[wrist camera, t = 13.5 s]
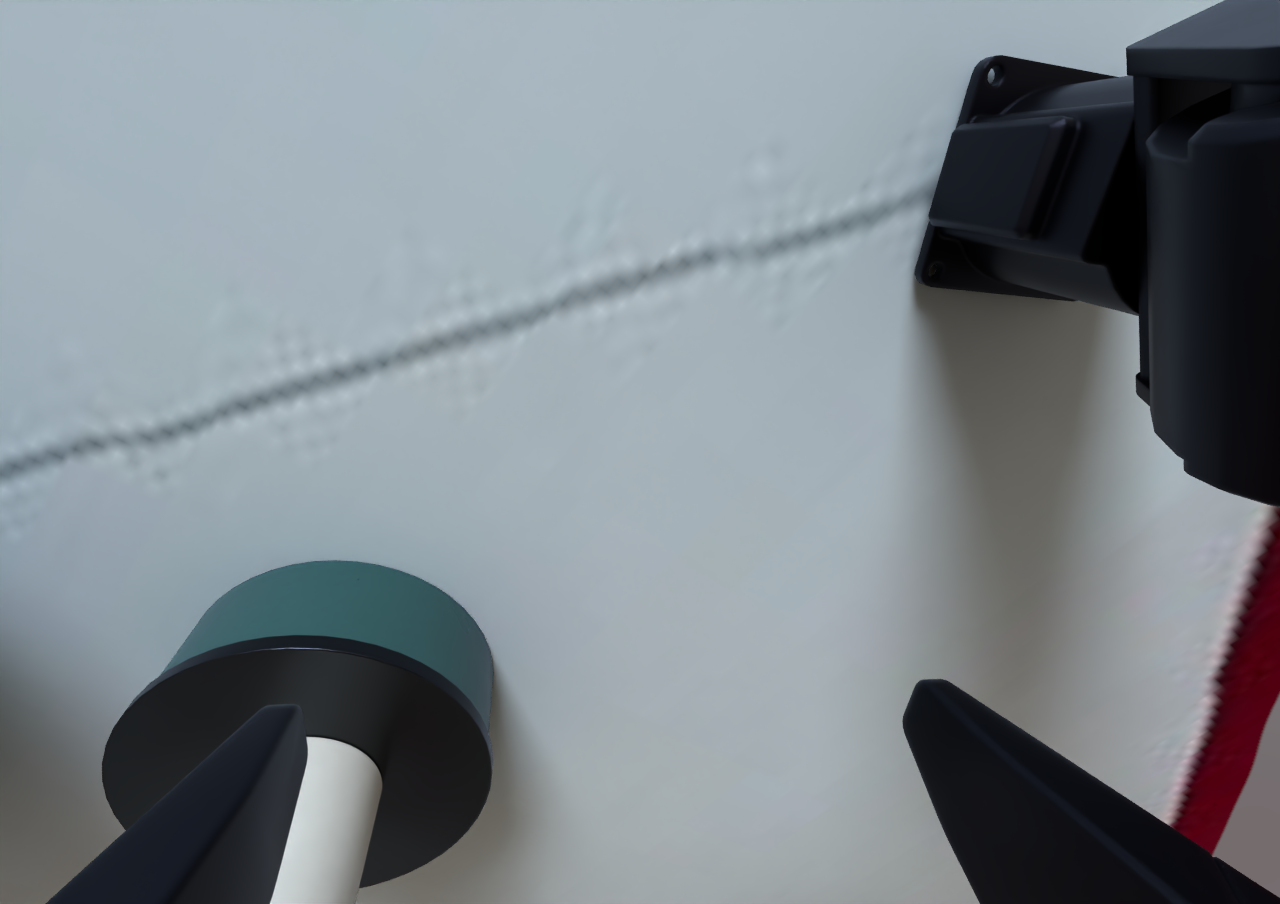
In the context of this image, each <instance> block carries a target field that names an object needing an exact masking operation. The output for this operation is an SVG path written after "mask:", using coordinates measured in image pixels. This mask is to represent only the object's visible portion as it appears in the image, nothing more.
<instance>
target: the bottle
mask: <svg viewBox="0 0 1280 904" xmlns="http://www.w3.org/2000/svg"><path fill="white" fill-rule="evenodd" d="M306 738H307V745H308V758H307V765H306V769H305V773H304V777H303V781H302V785H301V789H300V793H299V797H298V801H297V804H296V808H295V812H294V816H293V820H292V824H291V828H290V832H289V836H288V840H287V844H286V847H285V851H284V855H283V859H282V863H281V867H280V871H279V875H278V878H277V882H276V886H275V889H274V893H273V896H272V899H271V902H270V904H355V902H356V898H357V894H358V890H359V885H360V881H361V877H362V873H363V868H364V864H365V860H366V856H367V851H368V847H369V843H370V839H371V834H372V830H373V826H374V821H375V817H376V813H377V809H378V804H379V800H380V796H381V792H382V779H381V774H380V772H379V769H378V768H377V766H376V765H375V763H374V762H373V761H372V760H371V759H370V758H369V757H368V756H367V755H366V754H365V753H363V752H362V751H360V750H359V749H357V748H355V747H353V746H351V745H348V744H346V743H343V742H340V741H336V740H333V739H327V738H319V737H306Z"/></svg>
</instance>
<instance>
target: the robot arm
mask: <svg viewBox="0 0 1280 904" xmlns="http://www.w3.org/2000/svg"><path fill="white" fill-rule="evenodd" d="M1126 58H1127V75H1128V76H1125V77H1114V76H1109V75H1104V74H1098V73H1093V72H1088V71H1083V70H1077V69H1072V68H1067V67H1061V66H1056V65H1051V64H1045V63H1040V62H1035V61H1029V60H1024V59H1019V58H1014V57H1008V56H1003V55H1000V56H993V57H988V58H985V59H984V60H982V61H980V62H979V63H978V64H977V66H976V67H975V69H974V71H973V73H972V75H971V79H970V82H969V86H968V89H967V93H966V96H965V99H964V103H963V106H962V110H961V113H960V117H959V120H958V123H957V127H956V130H955V131H954V132H953V133H952V136H951V139H950V143H949V146H948V150H947V153H946V157H945V160H944V163H943V167H942V170H941V174H940V177H939V181H938V184H937V188H936V191H935V194H934V198H933V201H932V205H931V208H930V212H929V223H928V227H927V230H926V233H925V237H924V240H923V244H922V247H921V251H920V254H919V257H918V261H917V264H916V268H915V277H916V280H917V281H918V282H919V283H921V284H924V285H927V286H930V287H937V288H946V289H956V290H966V291H976V292H986V293H996V294H1006V295H1016V296H1026V297H1035V298H1045V299H1055V300H1065V301H1082V302H1086V303H1090V304H1094V305H1098V306H1102V307H1106V308H1110V309H1114V310H1118V311H1121V312H1125V313H1129V314H1133V315H1137V316H1139V337H1140V372H1139V373H1138V374H1137V375H1136V393H1137V395H1138V396H1139V397H1140V398H1141V399H1142V400H1143V401H1144V402H1146V403H1147V404H1148V405H1149V406H1150V412H1151V417H1152V422H1153V427H1154V432H1155V433H1156V434H1157V435H1158V436H1159V437H1160V438H1161V439H1162V441H1163V442H1164V443H1165V444H1166V445H1167V446H1168V447H1169V448H1170V449H1171V450H1172V451H1173V452H1174V453H1175V454H1176V455H1177V456H1179V457H1181V458H1182V459H1184V471H1185V472H1186V473H1188V474H1189V475H1191V476H1193V477H1195V478H1197V479H1199V480H1201V481H1203V482H1205V483H1207V484H1210V485H1212V486H1214V487H1216V488H1218V489H1221V490H1223V491H1226V492H1228V493H1231V494H1234V495H1238V496H1241V497H1244V498H1248V499H1251V500H1254V501H1257V502H1261V503H1264V504H1267V505H1271V506H1276V507H1280V0H1225V1H1223V2H1221V3H1218V4H1216V5H1214V6H1212V7H1210V8H1208V9H1206V10H1204V11H1202V12H1199V13H1197V14H1195V15H1193V16H1191V17H1189V18H1187V19H1185V20H1183V21H1180V22H1178V23H1176V24H1174V25H1172V26H1170V27H1168V28H1166V29H1164V30H1161V31H1159V32H1157V33H1155V34H1153V35H1151V36H1149V37H1147V38H1145V39H1143V40H1140V41H1138V42H1136V43H1134V44H1132V45H1130V46H1128V47H1127V48H1126ZM991 68H992V69H993V70H994V73H995V76H994V80H993V82H992V84H991V85H990V84H989V82H988V80H987V79H988V73H989V71H990V69H991ZM934 264H935V265H936V271H935V273H934V274H933V275H932V276H931V277H930V276H929V270H930V268H931V266H933V265H934ZM903 729H904V733H905V736H906V738H907V741H908V743H909V746H910V748H911V751H912V753H913V756H914V758H915V761H916V763H917V766H918V768H919V771H920V773H921V776H922V778H923V781H924V783H925V786H926V788H927V791H928V793H929V796H930V798H931V801H932V803H933V806H934V808H935V811H936V813H937V816H938V818H939V821H940V823H941V825H942V828H943V830H944V832H945V834H946V836H947V838H948V841H949V843H950V845H951V847H952V849H953V851H954V853H955V855H956V857H957V859H958V861H959V863H960V865H961V867H962V869H963V871H964V873H965V875H966V877H967V879H968V881H969V883H970V885H971V887H972V889H973V891H974V893H975V895H976V897H977V899H978V901H979V903H980V904H1280V898H1279V897H1277V896H1276V895H1274V894H1273V893H1271V892H1270V891H1268V890H1266V889H1265V888H1263V887H1262V886H1260V885H1258V884H1257V883H1256V882H1254V881H1252V880H1251V879H1249V878H1248V877H1246V876H1245V875H1243V874H1242V873H1240V872H1239V871H1237V870H1236V869H1234V868H1233V867H1231V866H1230V865H1228V864H1227V863H1225V862H1224V861H1222V860H1221V859H1219V858H1217V857H1212V855H1211V854H1210V853H1209V852H1208V851H1207V850H1205V849H1204V848H1202V847H1200V846H1199V845H1197V844H1196V843H1194V842H1193V841H1191V840H1190V839H1188V838H1187V837H1185V836H1184V835H1182V834H1181V833H1179V832H1178V831H1176V830H1175V829H1173V828H1172V827H1170V826H1168V825H1167V824H1165V823H1164V822H1162V821H1161V820H1159V819H1158V818H1156V817H1155V816H1153V815H1152V814H1150V813H1149V812H1147V811H1146V810H1144V809H1143V808H1141V807H1139V806H1138V805H1136V804H1135V803H1133V802H1132V801H1130V800H1129V799H1127V798H1126V797H1124V796H1123V795H1121V794H1120V793H1118V792H1117V791H1115V790H1114V789H1112V788H1111V787H1109V786H1107V785H1106V784H1104V783H1103V782H1101V781H1100V780H1098V779H1097V778H1095V777H1094V776H1092V775H1091V774H1089V773H1088V772H1086V771H1085V770H1083V769H1082V768H1080V767H1078V766H1077V765H1075V764H1074V763H1072V762H1071V761H1069V760H1068V759H1066V758H1065V757H1063V756H1062V755H1060V754H1059V753H1057V752H1056V751H1054V750H1053V749H1051V748H1049V747H1048V746H1046V745H1045V744H1043V743H1042V742H1040V741H1039V740H1037V739H1036V738H1034V737H1033V736H1031V735H1030V734H1028V733H1027V732H1025V731H1024V730H1022V729H1021V728H1019V727H1017V726H1016V725H1014V724H1013V723H1011V722H1010V721H1008V720H1007V719H1005V718H1004V717H1002V716H1001V715H999V714H998V713H996V712H995V711H993V710H992V709H990V708H988V707H987V706H985V705H984V704H982V703H981V702H979V701H978V700H976V699H975V698H973V697H972V696H970V695H969V694H967V693H966V692H964V691H963V690H961V689H960V688H958V687H956V686H955V685H953V684H952V683H950V682H949V681H947V680H943V679H928V680H920V681H919V682H918V683H917V684H916V685H915V688H914V690H913V693H912V695H911V698H910V700H909V703H908V705H907V708H906V710H905V713H904V716H903ZM307 758H308V745H307V738H306V732H305V725H304V719H303V713H302V709H301V708H300V706H299V705H296V704H280V705H268V706H265V707H263V708H261V709H260V710H259V711H258V712H257V713H255V714H254V715H253V716H252V717H251V718H250V719H249V720H248V721H247V722H246V723H244V724H243V725H242V726H241V727H240V728H239V729H238V730H237V731H236V732H234V733H233V734H232V735H231V736H230V737H229V738H228V739H227V740H226V741H225V742H223V743H222V744H221V745H220V746H219V747H218V748H217V749H216V750H215V751H213V752H212V753H211V754H210V755H209V756H208V757H207V758H206V759H205V760H204V761H202V762H201V763H200V764H199V765H198V766H197V767H196V768H195V769H194V770H193V771H191V772H190V773H189V774H188V775H187V776H186V777H185V778H184V779H183V780H181V781H180V782H179V783H178V784H177V785H176V786H175V787H174V788H173V789H172V790H170V791H169V792H168V793H167V794H166V795H165V796H164V797H163V798H162V799H161V800H159V801H158V802H157V803H156V804H155V805H154V806H153V807H152V808H151V809H149V810H148V811H147V812H146V813H145V814H144V815H143V816H142V817H141V818H140V819H138V820H137V821H136V822H135V823H134V824H133V825H132V826H131V827H130V828H128V829H127V830H126V831H125V832H124V833H123V834H122V835H121V836H120V837H119V838H117V839H116V840H115V841H114V842H113V843H112V844H111V845H110V846H109V847H108V848H106V849H105V850H104V851H103V852H102V853H101V854H100V855H99V856H98V857H96V858H95V859H94V860H93V861H92V862H91V863H90V864H89V865H88V866H87V867H85V868H84V869H83V870H82V871H81V872H80V873H79V874H78V875H77V876H75V877H74V878H73V879H72V880H71V881H70V882H69V883H68V884H67V885H66V886H64V887H63V888H62V889H61V890H60V891H59V892H58V893H57V894H56V895H55V896H53V897H52V898H51V899H50V900H49V901H48V902H47V903H46V904H270V902H271V899H272V896H273V893H274V889H275V886H276V882H277V878H278V875H279V871H280V867H281V863H282V859H283V855H284V851H285V847H286V844H287V840H288V836H289V832H290V828H291V824H292V820H293V816H294V812H295V808H296V804H297V801H298V797H299V793H300V789H301V785H302V781H303V777H304V773H305V769H306V765H307Z"/></svg>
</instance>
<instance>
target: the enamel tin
mask: <svg viewBox="0 0 1280 904" xmlns="http://www.w3.org/2000/svg"><path fill="white" fill-rule="evenodd" d="M492 684H493V665H492V658H491V654H490V650H489V646H488V644H487V642H486V639H485V637H484V635H483V633H482V631H481V630H480V628H479V627H478V625H477V624H476V622H475V621H474V619H473V618H472V617H471V616H470V615H469V614H468V612H467V611H466V610H465V609H464V608H463V607H462V606H461V605H460V604H458V603H457V602H456V601H455V600H454V599H453V598H451V597H450V596H449V595H447V594H446V593H444V592H443V591H441V590H440V589H438V588H437V587H435V586H433V585H431V584H429V583H427V582H426V581H424V580H422V579H420V578H418V577H415V576H412V575H410V574H407V573H404V572H402V571H399V570H395V569H392V568H388V567H384V566H380V565H375V564H368V563H362V562H352V561H316V562H307V563H301V564H294V565H289V566H286V567H282V568H278V569H274V570H271V571H268V572H266V573H263V574H261V575H258V576H256V577H253V578H251V579H249V580H247V581H245V582H243V583H242V584H240V585H238V586H236V587H234V588H233V589H231V590H230V591H229V592H227V593H226V594H225V595H223V596H222V597H221V598H219V599H218V600H217V601H216V602H215V603H214V604H213V605H212V606H211V607H210V608H209V609H208V610H207V611H206V612H205V614H204V615H203V617H202V618H201V619H200V621H199V622H198V624H197V625H196V626H195V628H194V629H193V631H192V632H191V633H190V635H189V636H188V638H187V639H186V640H185V642H184V643H183V645H182V646H181V647H180V649H179V650H178V651H177V653H176V654H175V656H174V657H173V658H172V660H171V661H170V663H169V664H168V665H167V667H166V668H165V670H164V671H163V672H162V674H161V675H160V676H159V677H158V678H156V679H155V680H154V681H152V682H151V683H150V684H149V685H148V686H147V687H146V688H145V689H144V690H143V691H142V692H141V693H140V694H139V695H138V696H137V697H136V698H135V699H134V700H133V701H132V703H131V704H130V705H129V707H128V708H127V709H126V711H125V712H124V714H123V715H122V716H121V718H120V719H119V721H118V722H117V724H116V725H115V726H114V728H113V730H112V732H111V735H110V737H109V739H108V741H107V744H106V747H105V752H104V756H103V761H102V782H103V786H104V790H105V794H106V798H107V800H108V802H109V805H110V807H111V809H112V811H113V813H114V815H115V816H116V818H117V819H118V820H119V822H120V823H121V825H122V826H123V827H124V829H125V830H127V829H128V828H130V827H131V826H132V825H133V824H134V823H135V822H136V821H137V820H138V819H140V818H141V817H142V816H143V815H144V814H145V813H146V812H147V811H148V810H149V809H151V808H152V807H153V806H154V805H155V804H156V803H157V802H158V801H159V800H161V799H162V798H163V797H164V796H165V795H166V794H167V793H168V792H169V791H170V790H172V789H173V788H174V787H175V786H176V785H177V784H178V783H179V782H180V781H181V780H183V779H184V778H185V777H186V776H187V775H188V774H189V773H190V772H191V771H193V770H194V769H195V768H196V767H197V766H198V765H199V764H200V763H201V762H202V761H204V760H205V759H206V758H207V757H208V756H209V755H210V754H211V753H212V752H213V751H215V750H216V749H217V748H218V747H219V746H220V745H221V744H222V743H223V742H225V741H226V740H227V739H228V738H229V737H230V736H231V735H232V734H233V733H234V732H236V731H237V730H238V729H239V728H240V727H241V726H242V725H243V724H244V723H246V722H247V721H248V720H249V719H250V718H251V717H252V716H253V715H254V714H255V713H257V712H258V711H259V710H260V709H261V708H263V707H265V706H268V705H280V704H296V705H299V706H300V708H301V709H302V713H303V719H304V725H305V732H306V737H319V738H327V739H333V740H336V741H340V742H343V743H346V744H348V745H351V746H353V747H355V748H357V749H359V750H360V751H362V752H363V753H365V754H366V755H367V756H368V757H369V758H370V759H371V760H372V761H373V762H374V763H375V765H376V766H377V768H378V769H379V772H380V774H381V779H382V792H381V796H380V800H379V804H378V809H377V813H376V817H375V821H374V826H373V830H372V834H371V839H370V843H369V847H368V851H367V856H366V860H365V864H364V868H363V873H362V877H361V881H360V885H359V888H363V887H367V886H371V885H375V884H378V883H382V882H385V881H388V880H391V879H394V878H396V877H399V876H402V875H404V874H407V873H409V872H411V871H413V870H415V869H417V868H419V867H421V866H423V865H425V864H427V863H429V862H430V861H432V860H433V859H435V858H437V857H438V856H440V855H441V854H443V853H444V852H445V851H447V850H448V849H449V848H450V847H452V846H453V845H454V844H455V843H457V842H458V840H459V839H460V838H461V837H462V836H463V835H464V834H465V833H466V832H467V831H468V830H469V829H470V827H471V826H472V825H473V823H474V822H475V821H476V819H477V818H478V816H479V814H480V812H481V811H482V809H483V807H484V805H485V803H486V800H487V797H488V794H489V791H490V787H491V778H492V767H493V755H492V744H491V740H490V737H489V726H490V712H491V698H492Z"/></svg>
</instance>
